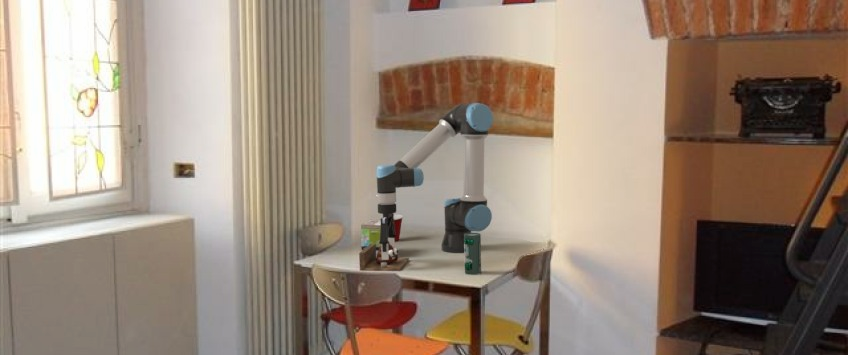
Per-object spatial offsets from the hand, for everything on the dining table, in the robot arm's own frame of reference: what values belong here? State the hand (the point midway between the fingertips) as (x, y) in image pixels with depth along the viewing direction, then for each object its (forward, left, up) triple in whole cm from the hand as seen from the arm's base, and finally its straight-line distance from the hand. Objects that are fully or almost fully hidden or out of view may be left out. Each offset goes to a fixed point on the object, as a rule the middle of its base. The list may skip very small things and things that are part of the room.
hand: (388, 256), depth 303 cm
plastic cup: (+10, -53, -4) cm, 54 cm away
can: (-35, +11, -4) cm, 37 cm away
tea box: (+10, -20, -4) cm, 22 cm away
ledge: (+2, 0, -4) cm, 4 cm away
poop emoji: (0, 0, -2) cm, 2 cm away
